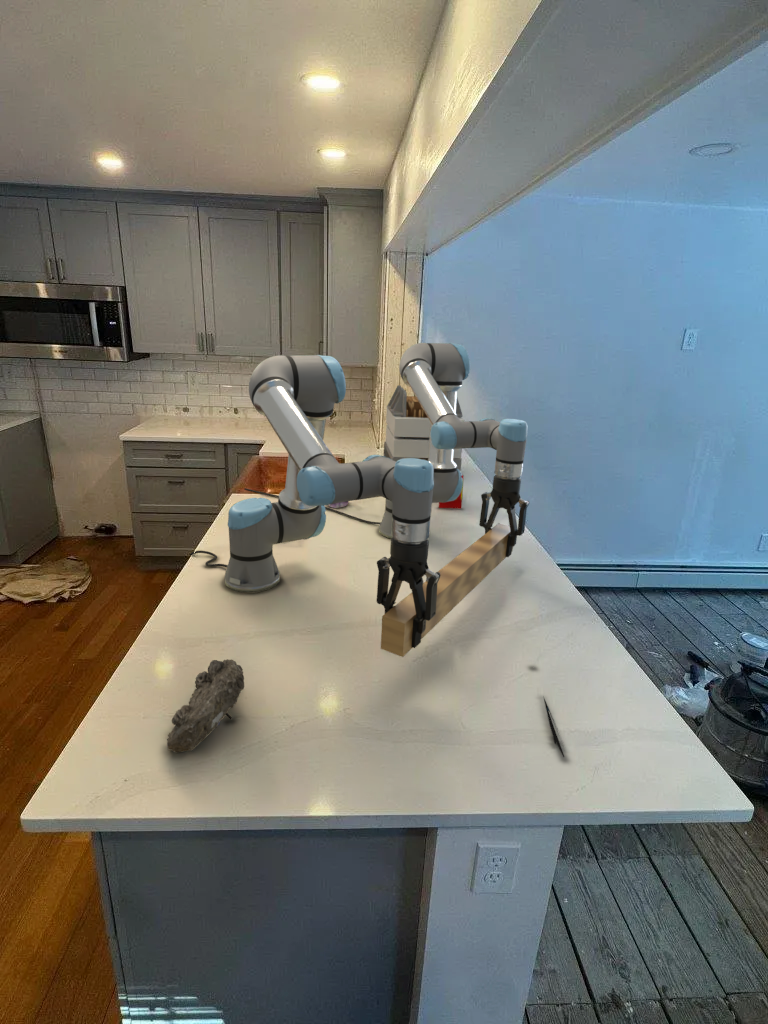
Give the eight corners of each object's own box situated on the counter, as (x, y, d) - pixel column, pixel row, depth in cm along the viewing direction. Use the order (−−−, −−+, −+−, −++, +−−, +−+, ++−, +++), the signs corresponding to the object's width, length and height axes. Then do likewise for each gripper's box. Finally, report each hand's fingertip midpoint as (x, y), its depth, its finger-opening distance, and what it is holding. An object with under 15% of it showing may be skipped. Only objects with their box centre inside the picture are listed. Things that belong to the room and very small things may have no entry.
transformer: (382, 463, 289) (386, 382, 275) (445, 464, 293) (451, 384, 279) (390, 482, 257) (394, 392, 243) (460, 483, 261) (468, 394, 247)
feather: (533, 672, 128) (539, 666, 127) (564, 762, 101) (571, 754, 101) (527, 668, 128) (533, 662, 127) (556, 757, 101) (563, 750, 100)
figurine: (332, 510, 220) (332, 472, 215) (322, 501, 228) (322, 465, 223) (354, 507, 224) (355, 470, 219) (343, 499, 232) (344, 463, 227)
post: (495, 547, 170) (498, 523, 167) (512, 551, 168) (515, 527, 165) (380, 648, 117) (382, 615, 114) (402, 657, 114) (404, 623, 112)
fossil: (192, 660, 117) (244, 628, 112) (224, 691, 120) (276, 661, 115) (142, 746, 98) (202, 712, 93) (182, 779, 101) (242, 748, 96)
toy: (456, 466, 252) (467, 476, 223) (454, 496, 255) (465, 509, 225) (428, 465, 252) (437, 475, 222) (427, 495, 254) (435, 508, 225)
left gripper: (360, 532, 113) (357, 634, 121) (443, 555, 104) (434, 663, 112) (380, 522, 119) (376, 619, 127) (460, 543, 110) (450, 646, 118)
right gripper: (471, 473, 158) (464, 549, 166) (535, 485, 149) (524, 565, 157) (482, 467, 164) (474, 541, 172) (544, 479, 155) (533, 556, 163)
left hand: (403, 639), depth 119 cm, fingers closed on post, 5 cm apart
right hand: (498, 552), depth 165 cm, fingers closed on post, 5 cm apart
